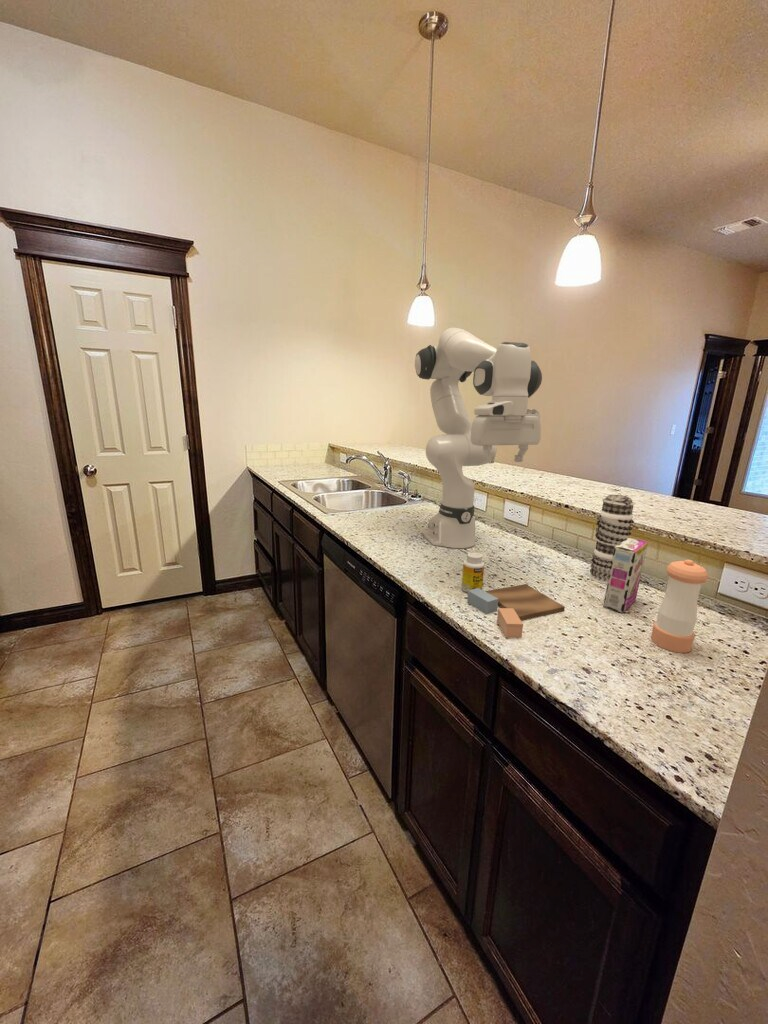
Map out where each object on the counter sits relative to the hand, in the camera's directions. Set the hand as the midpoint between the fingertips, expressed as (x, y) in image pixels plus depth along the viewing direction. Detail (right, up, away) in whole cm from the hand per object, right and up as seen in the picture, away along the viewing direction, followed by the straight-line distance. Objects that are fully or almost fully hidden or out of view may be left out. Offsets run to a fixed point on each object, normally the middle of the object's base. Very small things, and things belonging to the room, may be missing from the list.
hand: (504, 462), depth 109 cm
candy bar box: (+29, -37, -3) cm, 47 cm away
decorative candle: (+34, -33, +13) cm, 49 cm away
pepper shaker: (+30, -42, -20) cm, 55 cm away
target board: (+4, -36, -4) cm, 37 cm away
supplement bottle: (-8, -35, +3) cm, 36 cm away
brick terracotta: (-4, -40, -16) cm, 43 cm away
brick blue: (-7, -37, -6) cm, 38 cm away
